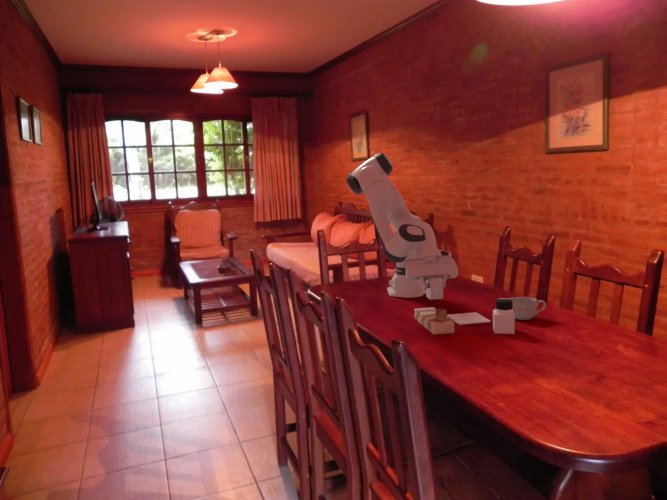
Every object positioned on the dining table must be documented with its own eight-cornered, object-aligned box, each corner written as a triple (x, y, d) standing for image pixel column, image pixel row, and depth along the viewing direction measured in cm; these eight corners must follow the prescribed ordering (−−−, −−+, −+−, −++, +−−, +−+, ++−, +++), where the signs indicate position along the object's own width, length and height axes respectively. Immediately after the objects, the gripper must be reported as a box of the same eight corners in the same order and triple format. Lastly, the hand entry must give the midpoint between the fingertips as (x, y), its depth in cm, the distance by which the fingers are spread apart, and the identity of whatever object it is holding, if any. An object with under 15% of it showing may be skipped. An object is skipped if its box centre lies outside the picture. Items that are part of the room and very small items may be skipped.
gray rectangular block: (426, 296, 208) (425, 276, 206) (438, 295, 208) (438, 275, 207) (430, 299, 203) (430, 279, 202) (443, 298, 204) (443, 278, 202)
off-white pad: (446, 315, 219) (446, 314, 219) (476, 313, 221) (476, 312, 221) (459, 324, 206) (459, 323, 206) (490, 322, 209) (490, 320, 209)
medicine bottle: (515, 334, 193) (515, 302, 191) (494, 333, 195) (494, 301, 193) (512, 328, 200) (513, 297, 198) (492, 327, 201) (493, 296, 200)
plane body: (414, 318, 217) (414, 299, 216) (433, 316, 219) (433, 297, 217) (433, 334, 196) (433, 313, 195) (454, 332, 197) (454, 311, 196)
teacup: (505, 320, 210) (506, 300, 209) (510, 313, 220) (511, 294, 218) (543, 324, 204) (544, 303, 202) (546, 316, 213) (547, 297, 212)
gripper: (403, 254, 209) (409, 284, 201) (454, 251, 210) (462, 281, 202) (401, 263, 215) (407, 293, 206) (451, 261, 216) (459, 290, 207)
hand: (434, 287), depth 204 cm, fingers closed on gray rectangular block, 5 cm apart
